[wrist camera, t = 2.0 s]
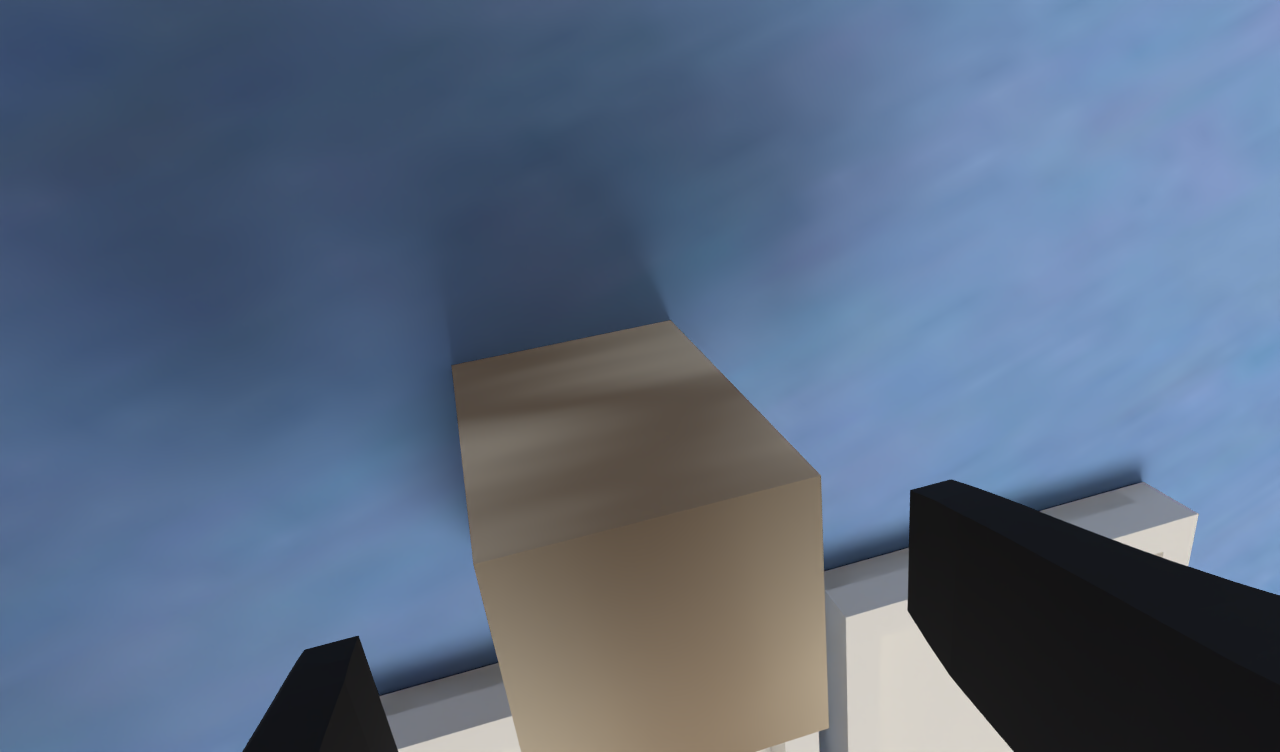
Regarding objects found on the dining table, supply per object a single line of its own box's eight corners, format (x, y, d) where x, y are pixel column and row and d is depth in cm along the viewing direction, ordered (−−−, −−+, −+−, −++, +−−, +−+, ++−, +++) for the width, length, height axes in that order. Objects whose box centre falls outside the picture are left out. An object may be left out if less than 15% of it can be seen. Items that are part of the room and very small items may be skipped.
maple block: (496, 552, 15) (539, 822, 10) (451, 365, 14) (473, 563, 8) (690, 503, 16) (828, 728, 11) (669, 319, 14) (820, 475, 9)
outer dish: (823, 838, 21) (850, 891, 20) (812, 574, 17) (845, 617, 16) (1101, 740, 23) (1144, 784, 21) (1143, 481, 19) (1198, 513, 18)
